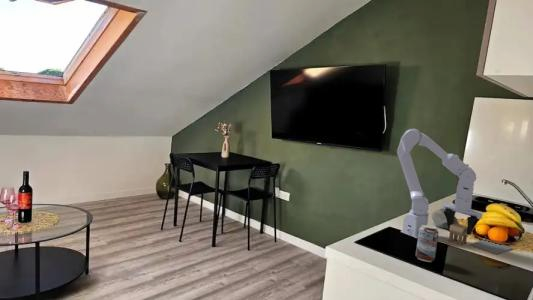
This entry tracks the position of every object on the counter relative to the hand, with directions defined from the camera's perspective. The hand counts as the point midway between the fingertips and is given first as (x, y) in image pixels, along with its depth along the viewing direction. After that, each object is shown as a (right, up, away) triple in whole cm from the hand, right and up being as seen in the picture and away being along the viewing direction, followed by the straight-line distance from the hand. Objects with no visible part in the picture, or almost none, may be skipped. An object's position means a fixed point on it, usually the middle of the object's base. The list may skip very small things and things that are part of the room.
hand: (459, 231), depth 143 cm
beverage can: (-23, -6, -20) cm, 31 cm away
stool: (0, -5, +1) cm, 5 cm away
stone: (+2, -3, +18) cm, 18 cm away
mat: (+11, -6, -2) cm, 13 cm away
